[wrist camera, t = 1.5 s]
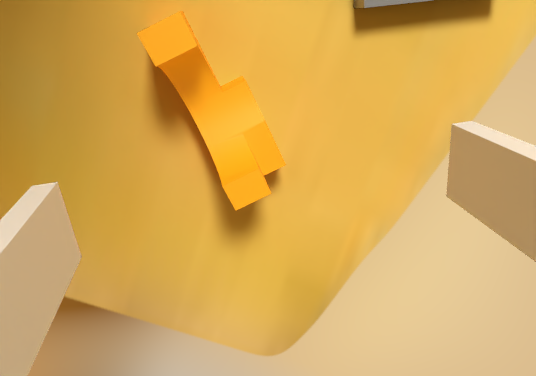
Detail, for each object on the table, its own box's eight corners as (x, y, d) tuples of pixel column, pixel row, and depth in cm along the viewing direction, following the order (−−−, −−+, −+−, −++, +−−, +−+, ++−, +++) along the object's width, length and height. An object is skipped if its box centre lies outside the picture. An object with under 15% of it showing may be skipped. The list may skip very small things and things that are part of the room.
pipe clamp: (277, 151, 33) (295, 181, 28) (228, 175, 34) (235, 210, 28) (206, -1, 29) (209, -4, 23) (148, 28, 29) (136, 33, 23)
